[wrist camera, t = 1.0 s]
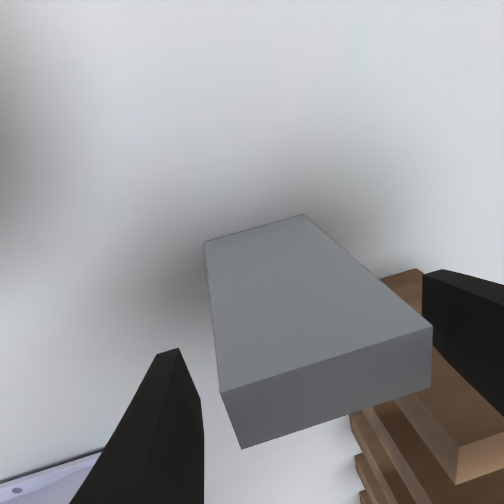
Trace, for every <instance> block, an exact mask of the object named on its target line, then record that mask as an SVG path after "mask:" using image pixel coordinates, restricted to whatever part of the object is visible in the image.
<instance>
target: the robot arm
mask: <svg viewBox="0 0 504 504" xmlns="http://www.w3.org/2000/svg"><path fill="white" fill-rule="evenodd" d="M422 317H423V318H424V319H426V320H427V321H428V322H429V323H430V324H431V325H433V338H432V345H433V346H434V347H435V348H436V349H437V351H438V352H439V353H440V354H441V356H442V357H443V358H444V359H445V360H446V361H447V362H448V363H449V364H450V365H451V366H452V367H453V368H454V369H455V370H456V371H457V372H458V373H459V374H460V375H461V376H462V377H463V378H464V379H465V380H466V381H467V382H468V383H469V384H470V385H471V386H472V387H473V388H474V389H475V390H476V391H477V392H478V393H479V394H480V395H481V396H482V397H483V398H484V399H485V400H486V401H487V402H489V403H490V404H491V405H492V406H493V407H494V408H495V409H496V410H497V411H498V412H499V413H500V414H501V415H502V416H503V417H504V285H502V284H498V283H495V282H491V281H487V280H484V279H480V278H476V277H473V276H469V275H465V274H461V273H457V272H453V271H448V270H443V269H441V270H437V271H434V272H431V273H427V274H424V275H422ZM0 504H204V429H203V419H202V410H201V401H200V397H199V395H198V392H197V390H196V388H195V385H194V383H193V381H192V378H191V376H190V373H189V371H188V369H187V366H186V364H185V362H184V359H183V357H182V355H181V352H180V350H179V348H176V349H173V350H169V351H166V352H163V353H159V354H157V355H156V356H155V358H154V360H153V362H152V364H151V365H150V367H149V369H148V371H147V373H146V375H145V377H144V379H143V381H142V382H141V384H140V386H139V388H138V390H137V392H136V394H135V396H134V397H133V399H132V401H131V403H130V405H129V406H128V408H127V410H126V412H125V414H124V415H123V417H122V419H121V421H120V422H119V424H118V426H117V428H116V430H115V431H114V433H113V435H112V436H111V438H110V440H109V441H108V443H107V445H106V446H105V448H104V450H103V451H102V452H99V453H96V454H93V455H90V456H87V457H83V458H80V459H77V460H74V461H71V462H68V463H65V464H62V465H58V466H55V467H52V468H49V469H46V470H43V471H40V472H36V473H33V474H30V475H27V476H24V477H21V478H18V479H15V480H11V481H8V482H5V483H2V484H0Z"/></svg>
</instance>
